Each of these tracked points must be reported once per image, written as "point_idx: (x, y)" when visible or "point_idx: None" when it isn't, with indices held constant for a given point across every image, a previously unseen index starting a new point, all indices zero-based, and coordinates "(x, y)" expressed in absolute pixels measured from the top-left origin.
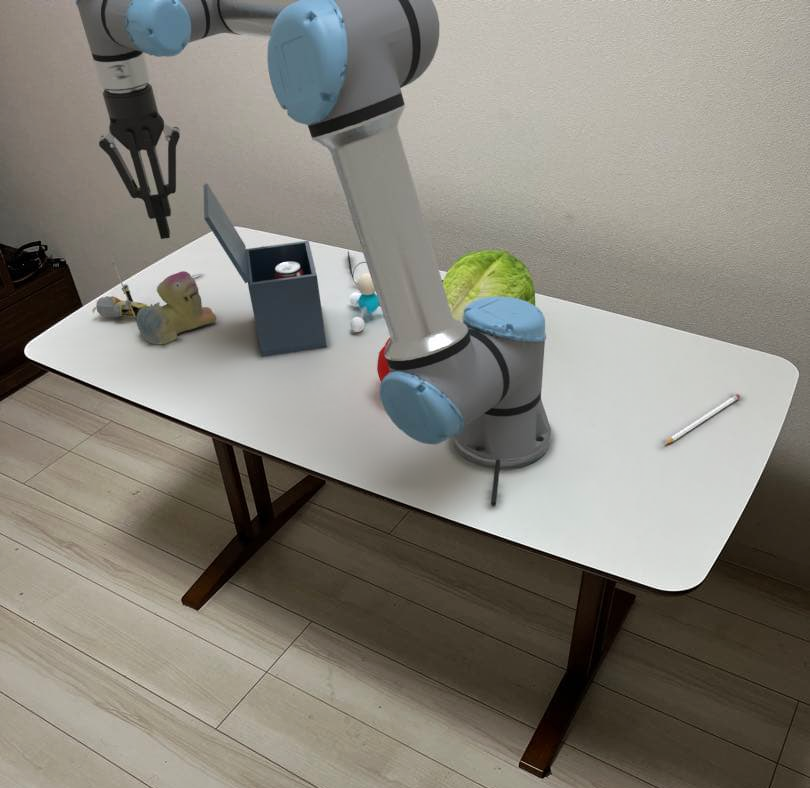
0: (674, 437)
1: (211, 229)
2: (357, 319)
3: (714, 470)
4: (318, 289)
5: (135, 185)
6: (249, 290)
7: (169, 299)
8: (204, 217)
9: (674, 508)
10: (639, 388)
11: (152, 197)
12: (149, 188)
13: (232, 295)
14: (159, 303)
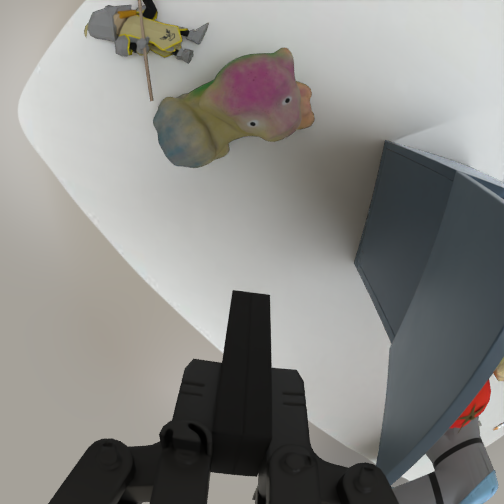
0: (498, 428)
1: (377, 460)
2: None
3: (488, 440)
4: None
5: (116, 492)
6: (389, 337)
7: (226, 119)
8: None
9: None
10: None
11: (219, 453)
12: (208, 482)
13: (359, 30)
14: (208, 24)
